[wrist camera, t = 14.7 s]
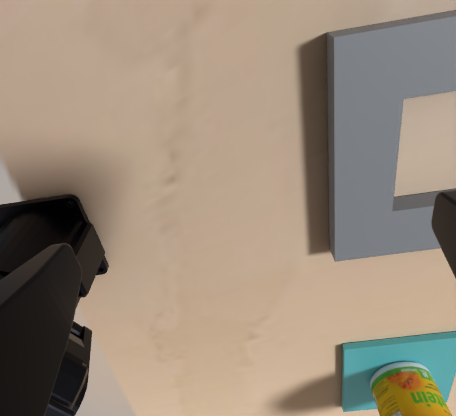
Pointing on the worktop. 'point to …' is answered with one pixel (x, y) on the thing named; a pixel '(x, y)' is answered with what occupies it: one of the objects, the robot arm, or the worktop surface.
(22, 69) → the worktop surface
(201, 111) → the worktop surface
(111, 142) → the worktop surface
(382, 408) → the supplement bottle
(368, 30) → the hole board
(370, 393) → the teal mat
